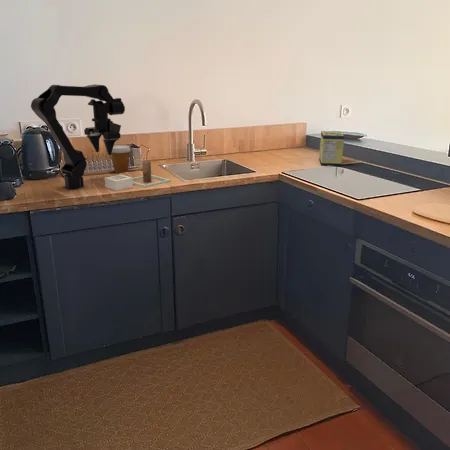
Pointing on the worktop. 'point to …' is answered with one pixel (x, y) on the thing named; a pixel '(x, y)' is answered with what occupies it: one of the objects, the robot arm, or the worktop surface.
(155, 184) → the pale green square frame
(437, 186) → the worktop surface
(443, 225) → the worktop surface
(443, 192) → the worktop surface
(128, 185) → the box
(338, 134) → the protein box
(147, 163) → the walnut pin
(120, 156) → the disposable coffee cup
